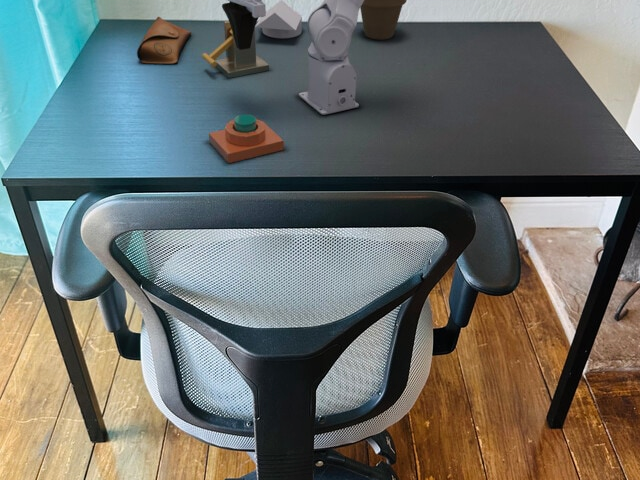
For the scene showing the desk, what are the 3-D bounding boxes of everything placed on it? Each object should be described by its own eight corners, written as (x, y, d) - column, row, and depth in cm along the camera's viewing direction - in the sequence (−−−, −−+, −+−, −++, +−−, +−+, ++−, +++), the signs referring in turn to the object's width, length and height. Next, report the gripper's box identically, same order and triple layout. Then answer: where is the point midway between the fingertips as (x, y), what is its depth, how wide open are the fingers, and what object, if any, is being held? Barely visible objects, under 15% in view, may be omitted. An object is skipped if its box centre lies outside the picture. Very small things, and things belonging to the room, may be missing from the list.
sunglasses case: (179, 62, 135) (158, 32, 131) (152, 78, 138) (131, 50, 134) (192, 31, 149) (174, 3, 145) (168, 46, 151) (149, 20, 147)
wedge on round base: (295, 46, 145) (304, 25, 155) (295, 14, 141) (304, -5, 150) (255, 43, 146) (266, 23, 155) (254, 11, 141) (265, -8, 151)
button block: (283, 149, 110) (283, 130, 108) (228, 163, 107) (227, 143, 104) (262, 130, 116) (262, 111, 113) (209, 142, 112) (207, 122, 109)
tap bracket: (228, 78, 131) (225, 32, 125) (214, 65, 136) (210, 21, 130) (269, 70, 135) (267, 25, 129) (254, 58, 139) (252, 14, 133)
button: (260, 131, 109) (259, 121, 107) (239, 135, 107) (239, 125, 106) (250, 122, 111) (250, 112, 110) (231, 126, 109) (230, 116, 108)
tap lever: (215, 70, 130) (208, 61, 128) (205, 61, 133) (199, 52, 131) (253, 37, 130) (247, 27, 128) (243, 29, 133) (236, 19, 131)
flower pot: (345, 29, 154) (347, -18, 147) (388, 24, 157) (392, -22, 150) (367, 46, 146) (370, -2, 139) (411, 40, 150) (417, -7, 143)
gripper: (199, -47, 110) (206, 37, 119) (235, -23, 101) (239, 66, 110) (238, -51, 112) (242, 31, 122) (276, -28, 103) (277, 59, 112)
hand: (243, 47), depth 116 cm, fingers closed
